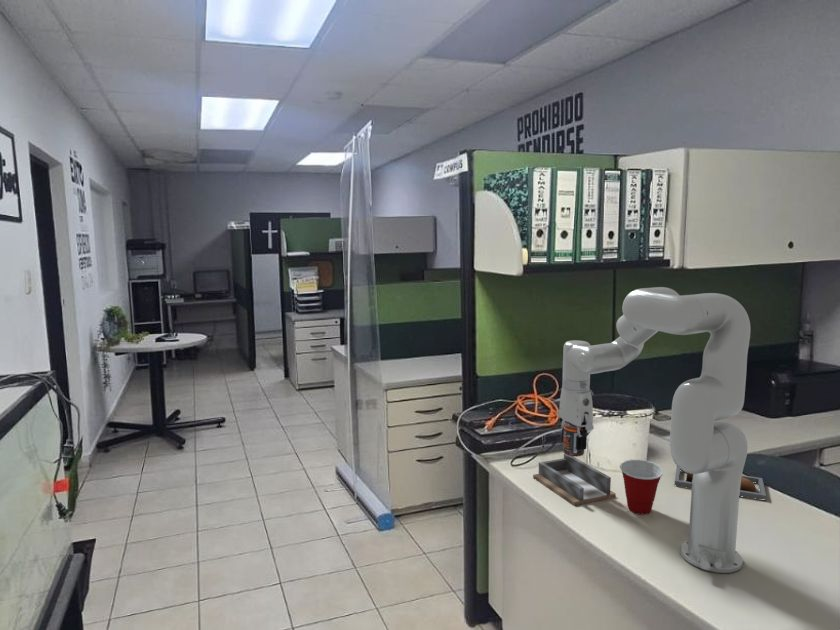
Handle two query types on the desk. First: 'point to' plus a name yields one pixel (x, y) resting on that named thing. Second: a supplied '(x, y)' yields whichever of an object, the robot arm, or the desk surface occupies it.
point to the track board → (574, 480)
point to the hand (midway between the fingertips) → (573, 444)
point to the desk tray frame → (742, 493)
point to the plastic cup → (640, 484)
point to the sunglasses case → (744, 486)
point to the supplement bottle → (571, 440)
